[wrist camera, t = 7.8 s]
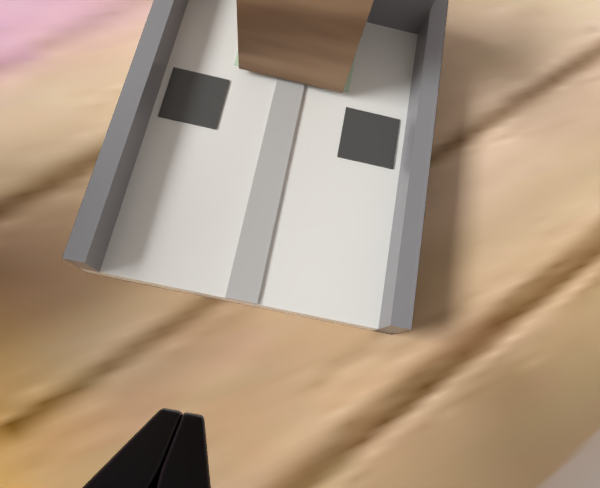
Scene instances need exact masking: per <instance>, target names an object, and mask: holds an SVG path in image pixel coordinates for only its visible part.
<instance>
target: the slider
mask: <svg viewBox="0 0 600 488" xmlns="http://www.w3.org/2000/svg"><path fill="white" fill-rule="evenodd" d="M373 1H374V0H236V4H237V33H238V62H239V69H243V70H247V71H252V72H256V73H260V74H265V75H269V76H273V77H278V78H282V79H286V80H290V81H295V82H299V83H303V84H308V85H312V86H316V87H320V88H325V89H329V90H333V91H338V92H342V93H343V90H344V87H345V84H346V81H347V78H348V75H349V72H350V69H351V66H352V63H353V60H354V57H355V54H356V51H357V48H358V45H359V42H360V39H361V37H362V34H363V31H364V28H365V25H366V22H367V19H368V16H369V13H370V10H371V7H372V4H373Z"/></svg>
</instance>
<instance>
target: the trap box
mask: <svg viewBox="0 0 600 488" xmlns="http://www.w3.org/2000/svg"><path fill="white" fill-rule="evenodd" d="M447 9H448V0H374V1H373V4H372V7H371V10H370V13H369V16H368V19H367V22H366V25H365V28H364V31H363V34H362V37H361V39H360V42H359V45H358V48H357V51H356V54H355V57H354V60H353V63H352V66H351V69H350V72H349V75H348V78H347V81H346V84H345V87H344V90H343V93H342V92H338V91H333V90H329V89H325V88H320V87H316V86H312V85H308V84H303V83H299V82H295V81H290V80H286V79H282V78H278V77H273V76H269V75H265V74H260V73H256V72H252V71H247V70H243V69H239V62H238V33H237V4H236V0H154V1H153V4H152V7H151V10H150V13H149V15H148V18H147V21H146V24H145V27H144V29H143V32H142V35H141V38H140V41H139V44H138V46H137V49H136V52H135V55H134V58H133V60H132V63H131V66H130V69H129V72H128V74H127V77H126V80H125V83H124V86H123V89H122V91H121V94H120V97H119V100H118V103H117V105H116V108H115V111H114V114H113V117H112V119H111V122H110V125H109V128H108V131H107V133H106V136H105V139H104V142H103V145H102V148H101V150H100V153H99V156H98V159H97V162H96V164H95V167H94V170H93V173H92V176H91V178H90V181H89V184H88V187H87V190H86V193H85V195H84V198H83V201H82V204H81V207H80V209H79V212H78V215H77V218H76V221H75V223H74V226H73V229H72V232H71V235H70V237H69V240H68V243H67V246H66V249H65V252H64V254H63V257H62V258H63V259H64V260H66V261H68V262H69V263H71V264H73V265H75V266H76V267H78V268H80V269H81V270H83V271H85V272H87V273H92V274H97V275H102V276H107V277H112V278H116V279H121V280H126V281H131V282H136V283H141V284H146V285H151V286H156V287H161V288H166V289H170V290H175V291H180V292H185V293H190V294H195V295H200V296H205V297H210V298H215V299H220V300H225V301H229V302H234V303H239V304H244V305H249V306H254V307H259V308H264V309H269V310H274V311H279V312H283V313H288V314H293V315H298V316H303V317H308V318H313V319H318V320H323V321H328V322H333V323H337V324H342V325H347V326H352V327H357V328H362V329H367V330H372V331H377V332H382V333H387V334H395V333H400V332H404V331H408V330H411V328H412V319H413V310H414V302H415V293H416V284H417V275H418V266H419V257H420V248H421V239H422V231H423V222H424V213H425V204H426V195H427V186H428V177H429V169H430V160H431V151H432V142H433V133H434V124H435V115H436V106H437V98H438V89H439V80H440V71H441V62H442V53H443V44H444V35H445V27H446V18H447Z"/></svg>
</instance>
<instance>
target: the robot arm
mask: <svg viewBox="0 0 600 488" xmlns="http://www.w3.org/2000/svg"><path fill="white" fill-rule="evenodd" d="M83 488H211V486H210V475H209V465H208V454H207V444H206V433H205V422H204V417H203V416H202V415H198V414H193V413H184V414H183V415H182V412H180V411H177V410H172V409H166V408H163V409H161V410H160V411H158V412H157V413H156V414H155V415H154V416H153V417H152V418H151V419H150V420H149V421H148V422H147V423H146V424H145V425H144V426H143V427H142V428H141V429H140V430H139V431H138V432H137V433H136V434H135V435H134V436H133V437H132V438H131V439H130V440H129V441H128V442H127V443H126V444H125V445H124V446H123V447H122V448H121V449H120V450H119V451H118V452H117V453H116V454H115V455H114V456H113V457H112V458H111V459H110V460H109V461H108V462H107V463H106V464H105V465H104V466H103V467H102V468H101V469H100V470H99V471H98V472H97V473H96V474H95V475H94V476H93V477H92V478H91V479H90V480H89V482H88V483H87V484H86V485H85V486H84V487H83Z"/></svg>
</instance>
